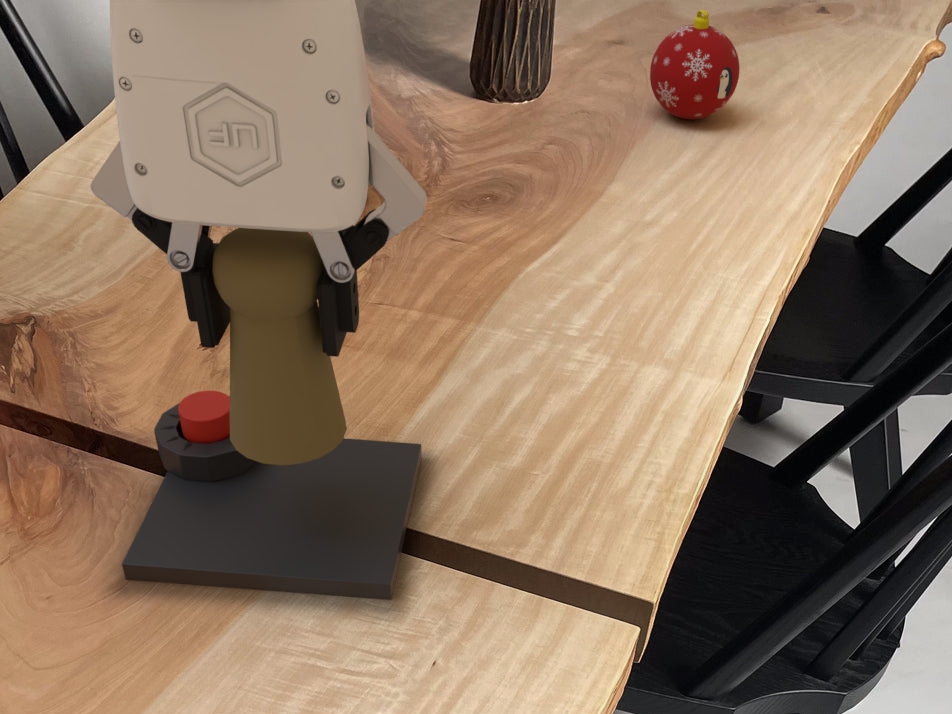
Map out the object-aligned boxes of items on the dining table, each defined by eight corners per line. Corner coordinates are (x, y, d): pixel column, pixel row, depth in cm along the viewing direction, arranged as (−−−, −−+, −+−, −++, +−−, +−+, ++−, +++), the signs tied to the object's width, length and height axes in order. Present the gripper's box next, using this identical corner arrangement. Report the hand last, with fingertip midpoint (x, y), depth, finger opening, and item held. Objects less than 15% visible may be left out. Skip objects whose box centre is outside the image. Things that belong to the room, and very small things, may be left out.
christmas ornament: (694, 95, 114) (709, -8, 108) (749, 123, 109) (768, 17, 102) (627, 108, 111) (639, 3, 104) (681, 139, 105) (696, 30, 99)
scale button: (176, 443, 62) (170, 418, 61) (191, 412, 65) (186, 388, 63) (228, 447, 62) (224, 422, 61) (241, 416, 64) (238, 391, 63)
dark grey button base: (107, 579, 58) (95, 536, 56) (181, 432, 67) (173, 391, 65) (391, 600, 57) (389, 558, 55) (423, 449, 67) (422, 409, 65)
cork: (220, 407, 59) (188, 214, 51) (331, 388, 60) (316, 199, 53) (240, 475, 54) (209, 275, 47) (359, 452, 56) (346, 256, 49)
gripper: (-37, -62, 39) (76, 367, 51) (440, -33, 39) (442, 393, 51) (45, -109, 45) (130, 287, 57) (462, -84, 44) (459, 310, 56)
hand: (276, 333), depth 54 cm, fingers closed on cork, 5 cm apart
